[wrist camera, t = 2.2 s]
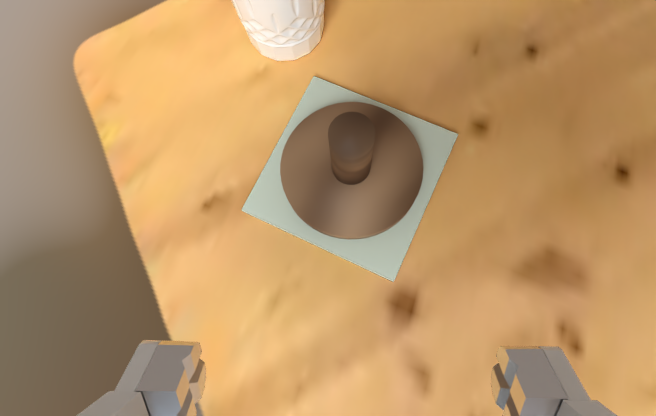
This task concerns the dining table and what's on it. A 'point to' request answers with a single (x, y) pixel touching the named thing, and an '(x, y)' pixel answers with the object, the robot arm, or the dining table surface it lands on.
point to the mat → (368, 253)
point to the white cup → (282, 26)
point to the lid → (351, 170)
